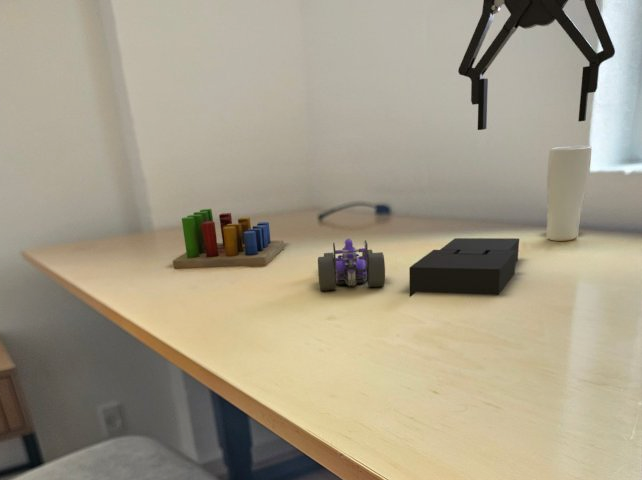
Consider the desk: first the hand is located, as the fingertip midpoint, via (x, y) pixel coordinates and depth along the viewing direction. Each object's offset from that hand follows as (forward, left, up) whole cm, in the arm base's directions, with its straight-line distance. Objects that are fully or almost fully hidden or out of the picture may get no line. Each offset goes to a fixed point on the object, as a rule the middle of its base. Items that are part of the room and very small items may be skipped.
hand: (530, 125), depth 93 cm
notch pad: (+5, +15, -20) cm, 25 cm away
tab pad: (+5, +6, -20) cm, 21 cm away
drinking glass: (-4, -22, -20) cm, 30 cm away
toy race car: (+23, +13, -20) cm, 33 cm away
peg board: (+53, -1, -20) cm, 57 cm away
